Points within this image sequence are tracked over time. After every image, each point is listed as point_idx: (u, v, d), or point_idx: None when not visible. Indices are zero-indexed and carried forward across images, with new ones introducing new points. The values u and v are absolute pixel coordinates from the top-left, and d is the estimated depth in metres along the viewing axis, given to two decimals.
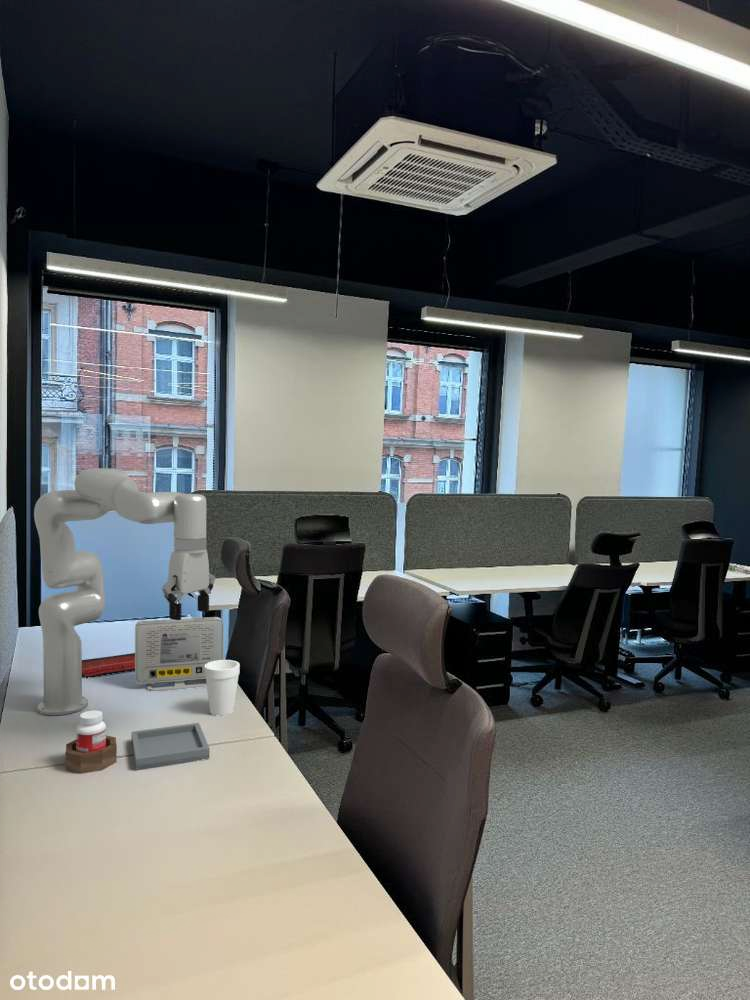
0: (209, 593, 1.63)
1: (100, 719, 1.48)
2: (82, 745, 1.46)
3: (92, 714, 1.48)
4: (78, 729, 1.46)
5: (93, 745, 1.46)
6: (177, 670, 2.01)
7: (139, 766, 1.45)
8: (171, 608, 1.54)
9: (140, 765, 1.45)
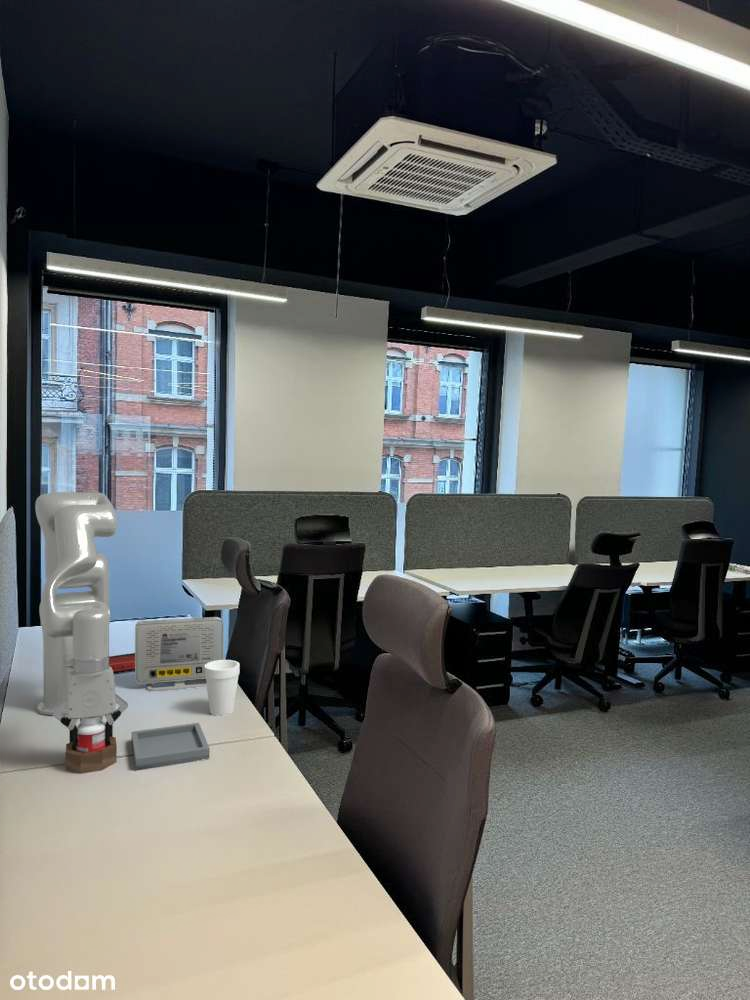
0: None
1: (100, 719, 1.48)
2: (82, 745, 1.46)
3: None
4: (78, 729, 1.46)
5: (93, 745, 1.46)
6: (177, 670, 2.01)
7: (139, 766, 1.45)
8: None
9: (140, 765, 1.45)
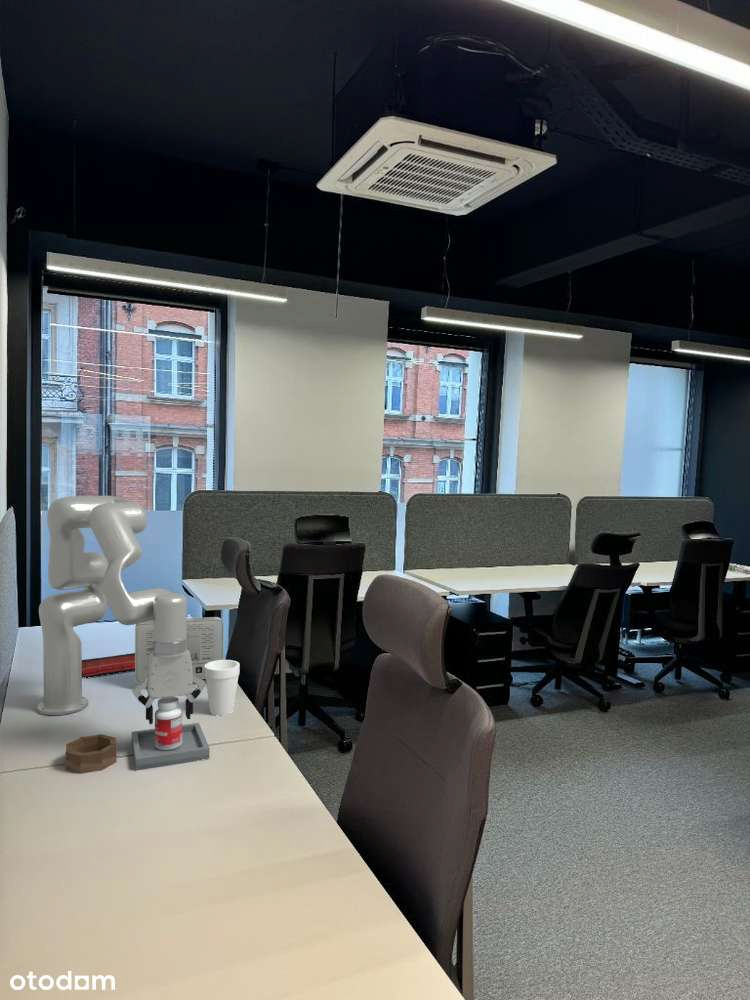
0: None
1: (177, 704, 1.54)
2: (162, 730, 1.52)
3: (169, 700, 1.55)
4: (157, 714, 1.53)
5: (171, 730, 1.53)
6: None
7: (139, 766, 1.45)
8: None
9: (140, 765, 1.45)
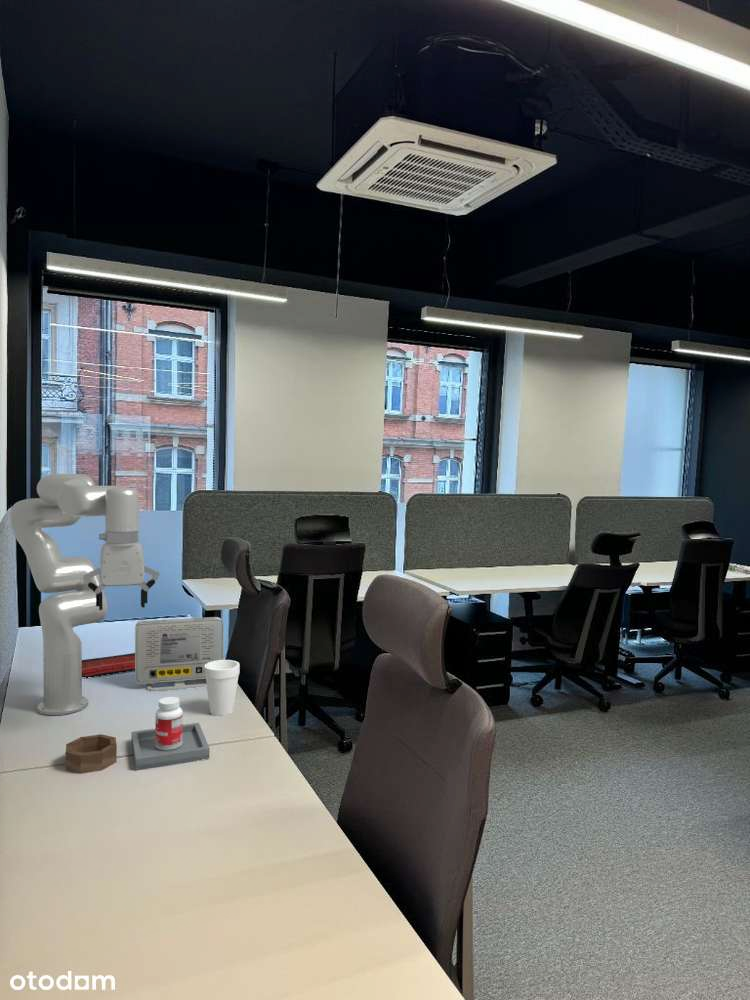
0: None
1: (178, 705, 1.55)
2: (162, 730, 1.52)
3: (170, 700, 1.55)
4: (158, 714, 1.53)
5: (172, 730, 1.53)
6: (177, 670, 2.01)
7: (139, 766, 1.45)
8: None
9: (140, 765, 1.45)
